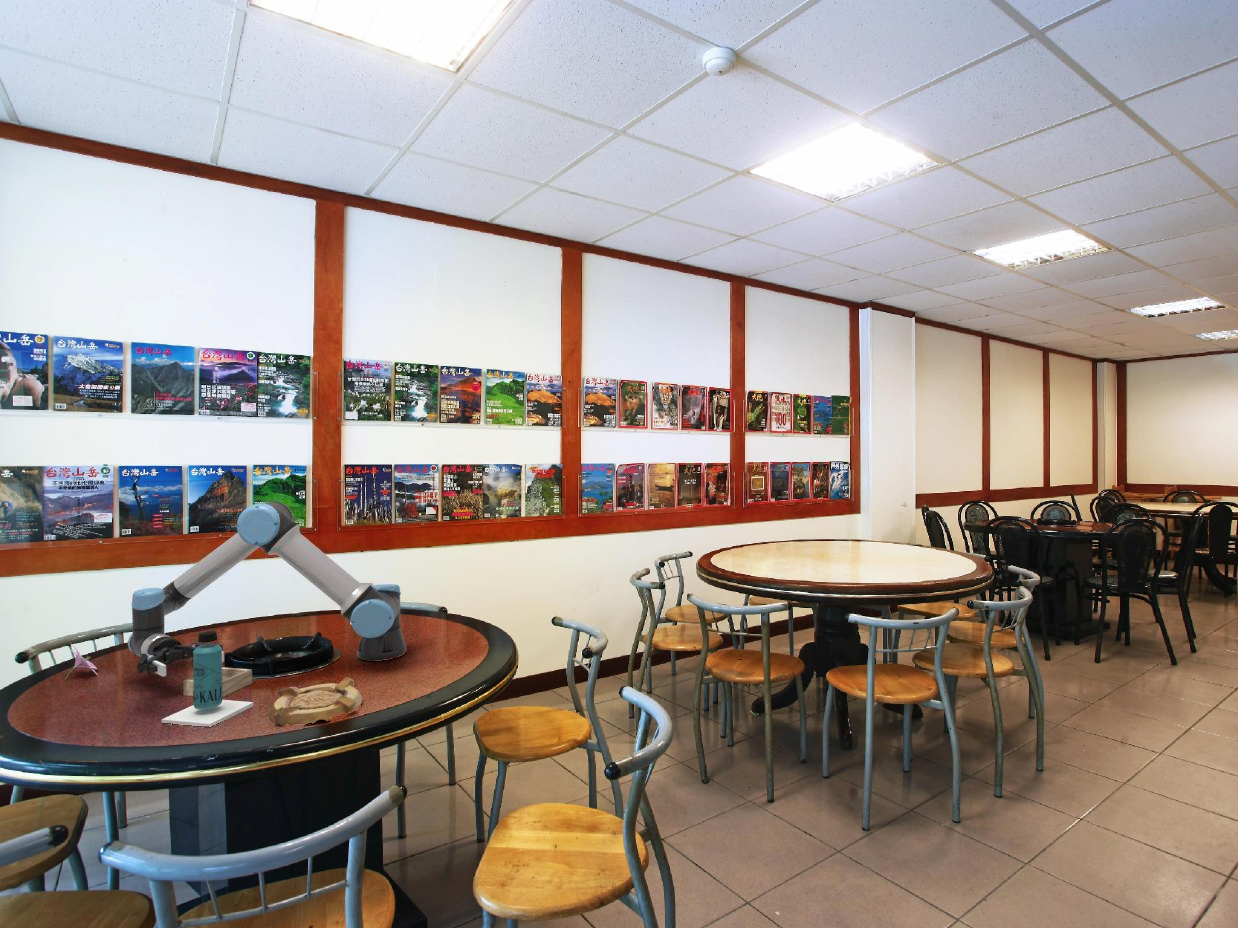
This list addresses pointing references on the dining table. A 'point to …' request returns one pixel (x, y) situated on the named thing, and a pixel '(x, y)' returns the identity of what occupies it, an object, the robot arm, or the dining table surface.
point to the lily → (81, 662)
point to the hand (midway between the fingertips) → (194, 663)
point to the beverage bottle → (207, 672)
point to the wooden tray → (226, 681)
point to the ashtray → (315, 703)
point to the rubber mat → (208, 714)
